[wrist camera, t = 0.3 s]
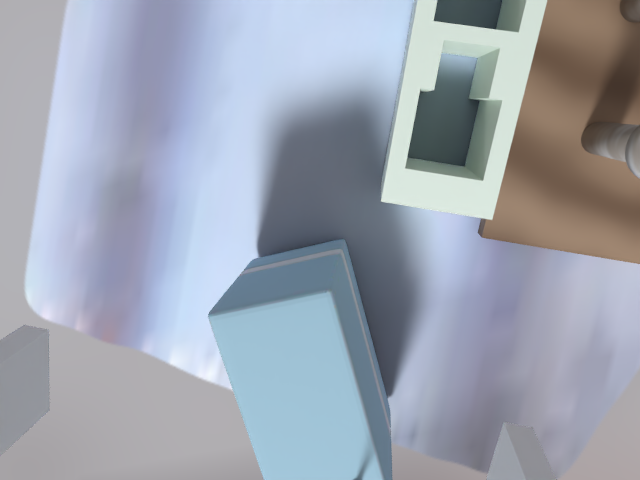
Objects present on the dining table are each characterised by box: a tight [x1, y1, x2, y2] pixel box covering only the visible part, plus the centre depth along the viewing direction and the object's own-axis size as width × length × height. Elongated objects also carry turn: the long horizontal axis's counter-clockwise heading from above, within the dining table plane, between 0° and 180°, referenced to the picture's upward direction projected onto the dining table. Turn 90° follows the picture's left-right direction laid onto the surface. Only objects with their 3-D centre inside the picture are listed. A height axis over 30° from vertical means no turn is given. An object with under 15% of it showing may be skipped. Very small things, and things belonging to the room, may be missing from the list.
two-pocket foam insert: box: [381, 0, 547, 220], centre depth 31 cm, size 21×7×7 cm, turn 172°
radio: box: [208, 239, 392, 480], centre depth 33 cm, size 16×9×20 cm, turn 15°
